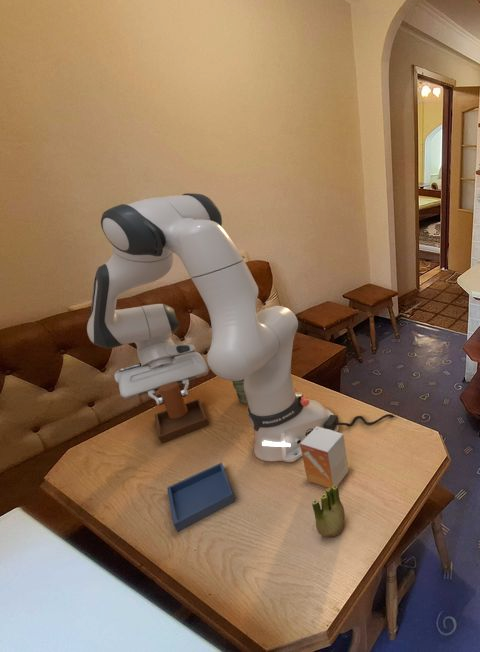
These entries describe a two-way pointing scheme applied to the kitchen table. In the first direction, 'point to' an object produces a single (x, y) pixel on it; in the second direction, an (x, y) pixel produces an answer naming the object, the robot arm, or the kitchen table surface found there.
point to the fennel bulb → (329, 513)
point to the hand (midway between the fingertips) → (173, 400)
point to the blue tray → (199, 496)
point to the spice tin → (173, 400)
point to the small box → (324, 457)
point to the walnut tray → (180, 422)
